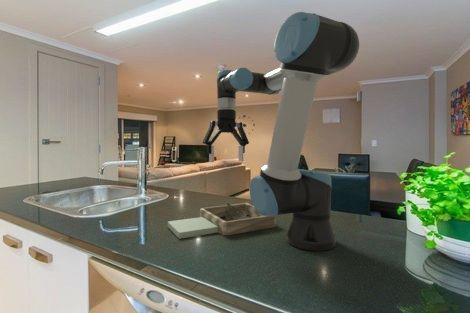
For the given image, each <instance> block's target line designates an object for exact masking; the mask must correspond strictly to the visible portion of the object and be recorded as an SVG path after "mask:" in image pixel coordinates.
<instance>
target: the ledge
mask: <svg viewBox="0 0 470 313" xmlns="http://www.w3.org/2000/svg"><path fill="white" fill-rule="evenodd" d="M167 228H168V230H170V231H171V232H172V233H173V234H174V235H175V236H176V237H177V238H178V239H179V240H180V239H185V238H191V237H197V236H198V237H199V236H206V235H210V234H215V233H219V232H218V226H216V225H214V224H213V223H211V222H210V221H208V220H207V219H205V218H204V217H200V216H199V217H191V218H184V219H178V220H177V219H176V220H170V221H167Z"/></svg>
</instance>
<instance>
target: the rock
mask: <svg viewBox="0 0 470 313" xmlns="http://www.w3.org/2000/svg"><path fill="white" fill-rule="evenodd" d="M226 205H227V207H226V209H225V218H226V221H232V220H239V219H245V218H247V213H246V212H245V211H243V210H240V209H236V208H235V207H234V206H231V205H232V204H230V203H227V204H226Z"/></svg>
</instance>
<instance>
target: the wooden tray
mask: <svg viewBox="0 0 470 313" xmlns="http://www.w3.org/2000/svg"><path fill="white" fill-rule="evenodd" d="M230 205H231V206H234V207H235V208H236V209H240V210H243V211H245V212H246V213H247V215H248V216H249V217H245V218H244V219H239V220H232V221H227V220H224V219H222V218H223V217H225V218H226V216H225V209H226V207H227V204H226V205H225V204H224V205H217V206H207V207H202V208H199V217H204V218H205V219H207V220H208V221H210V222H211V223H213V224H214V225H216V226H218V232H217V233H219V234H221V235H222V236H231V235H236V234H242V233H247V232H249V233H250V232H254V231H260V230H265V229H270V228H272V229H273V228H275V227H276V226H277V215H276V216H263V215H261V214H259V213H258V212H257V211H256V209H255V208H254V206H253V204H250V203H248V202H247V203H244V202H242V203H233V204H230Z"/></svg>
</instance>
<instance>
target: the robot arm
mask: <svg viewBox="0 0 470 313" xmlns="http://www.w3.org/2000/svg"><path fill="white" fill-rule="evenodd" d="M273 49H274V50H273V51H274V52H275V53H274V56H275V58H276V60H277V61H279V62H280V65H279V66H278V67H276V68H275V69H272V70H270V71H268V72H266V73H260V72H253V71H251V70H250V69H248V67H244V66H243V67H239V68H235V69H234V70H232V69H223V70H219V71H217V78H216V88H217V89H216V93H217V94H216V95H217V101H216V102H217V103H216V105H217V106H216V108H217V109H218V110H217V112H216V113H217V114H216V115H217V116H216V118H217V120H210V123H209V127H208V129H207V131H206V133H205V136H204V138H203V140H202V144H203V145H206V148H207V149H206V151H207V152H206V153H207V154H209V155H208V157H209V160H208V161H209V163H215V162H214V161H215V146H214V145H213V144H214V143H215V141H216V140H217V139H218V137H219V136H220V135H221V134H222V133H224V134H225V133H229V134H232V136H233V137H234V138H235V140H236V141H237V143H238V147H237V148H238V153H237V154H238V162H244V154H245V152H246V151H245V150H246V148H245V147H246V146H247V145H249V144H250V142H249V139H248V137H247V135H246V131H245V130H244V128H243V126H244V125H243V122H242V121H240V122H236V118H237V117H236V116H237V115H236V114H237V111H236V110H235V109H237V107H236V106H237V103H236V102H237V100H236V99H237V98H236V97H237V96H236V93H237V92H244V93H255V94H263V95H265V94H266V95H278V94H279V93H280V97H279V101H278V105H277V106H278V107H277V112H276V117H275V123H274V128H273V133H272V139H271V143H270V149H269V154H268V160H267V162H266V163H264V164H262V165H261V167H260V172H259V175H255V176H253V177H252V178H251V180H250V183H249V190H248V191H249V199H250V200H251V203H252V204H251V205H253V206H254V208H255V209H256V211H257V212H258V213H259V214H261V215H263V216H276V217H277V216H280V215H289V214H292V217H291V220H290V224H289V228H288V230H287V232H286V242H287V244H289V245H291V246H292V247H295V248H297V249H302V250H306V251H314V252H321V251H329V250H333V249H334V248H335V247H336V235H335V234H334V229H333V225H332V222H331V214H332V212H331V211H332V210H331V208H332V188H333V185H332V176H331V174H329V173H328V172H324V171H314V170H309V169H308V170H305V169H300V168H298V167H299V163H300V160H301V159H300V158H301V154H302V151H303V148H304V142H305V138H306V133H307V130H308V125H309V120H310V116H311V111H312V108H313V104H314V99H315V95H316V90H317V85H318V83H319V82H320V81H321V80H322V79H325V77H326V76H330V75H333V74H335V73H338V72H341V71H343V70H345V69H346V68H348V67H349V66H351V64H352V63H353V62H354V61H355V59H356V58H357V56H358V53H359V49H360V39H359V35H358V33H357V31H356V30H355V28H354V27H352V26H351V25H349V24H348V23H346V22H343V21H337V20H335V19H332V18H328V17H326V16H324V15H319V14H316V13H311V12H304V11H297V12H295V13H293V14H291V15H289V16H288V17H287V18H286V20H284V22H283V23H282V25H281V26H280V28H279V29H278V31H277V33H276V36H275V40H274V46H273ZM215 127H218V128H217V129H216V131H215V132H214V130H215ZM236 128H237V129H236ZM213 133H214V134H213ZM212 134H213V135H212Z"/></svg>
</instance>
